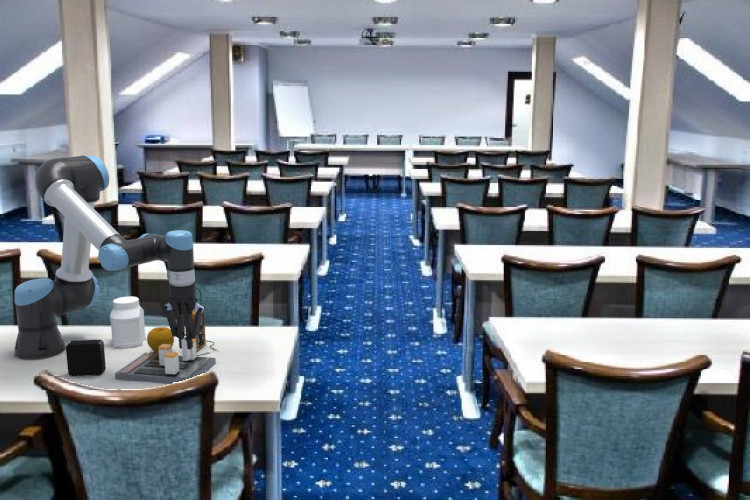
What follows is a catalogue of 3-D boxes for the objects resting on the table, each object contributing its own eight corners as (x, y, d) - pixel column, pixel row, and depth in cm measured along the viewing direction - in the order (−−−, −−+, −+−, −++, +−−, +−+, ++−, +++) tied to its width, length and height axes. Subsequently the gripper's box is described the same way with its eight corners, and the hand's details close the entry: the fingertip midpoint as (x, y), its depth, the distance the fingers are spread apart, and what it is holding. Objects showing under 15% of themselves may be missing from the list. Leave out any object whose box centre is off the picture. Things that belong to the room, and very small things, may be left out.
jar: (139, 347, 253) (136, 304, 250) (110, 348, 252) (106, 305, 249) (147, 336, 264) (144, 294, 261) (119, 337, 263) (115, 295, 260)
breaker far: (183, 359, 235) (182, 341, 234) (187, 356, 238) (186, 338, 236) (192, 360, 234) (191, 342, 233) (196, 356, 237) (195, 339, 236)
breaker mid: (159, 365, 230) (158, 347, 229) (164, 361, 233) (162, 343, 232) (168, 365, 230) (167, 347, 228) (173, 362, 232) (171, 344, 231)
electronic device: (72, 371, 232) (69, 340, 230) (106, 370, 233) (103, 339, 231) (68, 376, 228) (65, 345, 226) (102, 375, 229) (99, 343, 227)
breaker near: (165, 373, 224) (164, 354, 222) (169, 370, 226) (168, 351, 225) (174, 374, 223) (173, 355, 222) (179, 370, 226) (178, 352, 224)
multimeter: (213, 357, 243) (209, 297, 239) (184, 355, 245) (180, 295, 241) (230, 342, 257) (227, 285, 253) (203, 340, 259) (199, 284, 255)
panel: (115, 379, 226) (114, 372, 225) (145, 358, 243) (144, 351, 242) (190, 385, 221) (190, 378, 220) (215, 363, 238) (215, 357, 238)
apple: (142, 355, 246) (140, 329, 244) (162, 347, 253) (160, 322, 251) (161, 360, 241) (159, 333, 239) (180, 352, 248) (179, 326, 247)
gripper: (155, 285, 222) (161, 361, 227) (197, 287, 220) (201, 364, 225) (167, 279, 229) (172, 353, 234) (208, 281, 227) (212, 356, 232)
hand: (186, 358), depth 230 cm, fingers closed
